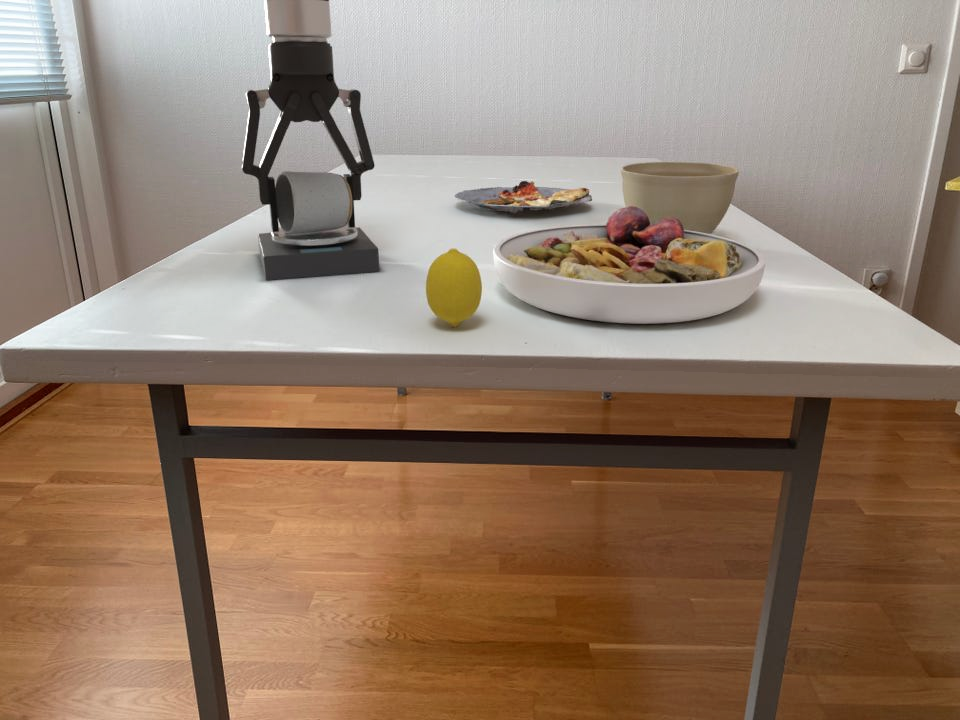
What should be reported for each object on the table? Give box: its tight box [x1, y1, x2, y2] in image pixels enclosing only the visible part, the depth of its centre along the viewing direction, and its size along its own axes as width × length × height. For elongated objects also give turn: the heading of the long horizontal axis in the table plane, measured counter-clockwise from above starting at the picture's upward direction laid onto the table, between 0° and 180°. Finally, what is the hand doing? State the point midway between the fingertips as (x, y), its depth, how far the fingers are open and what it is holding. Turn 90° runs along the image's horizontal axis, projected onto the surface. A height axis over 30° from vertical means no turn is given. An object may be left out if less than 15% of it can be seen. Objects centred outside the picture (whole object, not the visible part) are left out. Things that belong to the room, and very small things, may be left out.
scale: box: [257, 226, 380, 281], centre depth 102 cm, size 14×14×3 cm
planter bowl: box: [620, 161, 740, 234], centre depth 112 cm, size 16×16×11 cm
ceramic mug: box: [275, 170, 352, 234], centre depth 100 cm, size 11×8×8 cm
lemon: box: [425, 248, 483, 328], centre depth 77 cm, size 6×6×8 cm
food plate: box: [454, 180, 593, 214], centre depth 142 cm, size 25×23×4 cm
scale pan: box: [271, 225, 358, 246], centre depth 102 cm, size 11×11×1 cm
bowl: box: [492, 206, 766, 325], centre depth 88 cm, size 30×30×8 cm
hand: (313, 227), depth 101 cm, fingers closed on ceramic mug, 9 cm apart
